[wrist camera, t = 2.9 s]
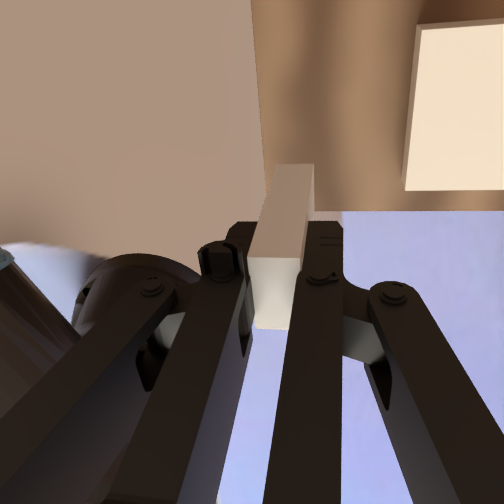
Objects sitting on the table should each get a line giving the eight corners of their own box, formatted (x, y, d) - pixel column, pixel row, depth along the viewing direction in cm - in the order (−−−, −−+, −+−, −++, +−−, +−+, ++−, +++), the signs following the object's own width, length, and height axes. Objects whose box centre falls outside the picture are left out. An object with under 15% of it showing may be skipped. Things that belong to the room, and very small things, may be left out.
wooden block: (274, 187, 36) (267, 211, 32) (260, -18, 28) (249, -13, 25) (553, 183, 32) (577, 210, 29) (625, -54, 24) (669, -54, 21)
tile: (401, 177, 29) (404, 190, 28) (416, 24, 24) (421, 30, 23) (500, 175, 28) (510, 189, 27) (537, 15, 23) (552, 20, 22)
